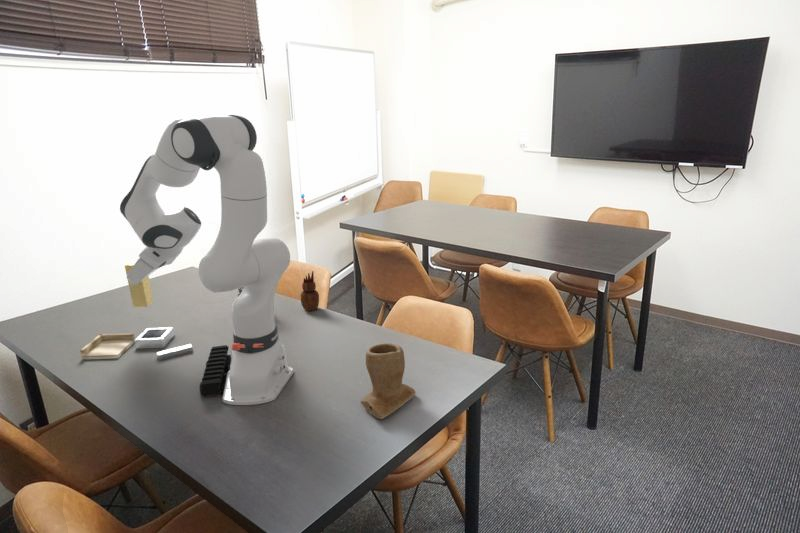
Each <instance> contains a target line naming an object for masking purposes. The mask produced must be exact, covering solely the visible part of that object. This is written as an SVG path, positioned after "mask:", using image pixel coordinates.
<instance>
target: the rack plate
mask: <svg viewBox="0 0 800 533" xmlns="http://www.w3.org/2000/svg"><path fill="white" fill-rule="evenodd" d="M135 339H136V338H135V333H134V332H124V333H123V332H122V333H100V334H99V333H98V335H97V336H96V337H94V338H93V339H92V340H91V341H89V343H87V344H86V345H85V346H83V347H82V348H81V349H80V355H81V359H82V360H109V359H119V358H120V357H121V356H122V355H123V354H124V353H126V352H127V351H128V349H129V348H131V347H132V346H133V345H135Z"/></svg>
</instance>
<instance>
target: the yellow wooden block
mask: <svg viewBox="0 0 800 533" xmlns="http://www.w3.org/2000/svg"><path fill="white" fill-rule="evenodd" d="M136 261H137V260H131V261H128V262H127V263H126V264H124V269H125V274H126V275H127V274H128V273H129V271H130V270H131V268H132V267H133V266H134V264H135V263H136ZM127 283H128V287H129V288H128V289H129V292H130V298H131V301H132V305H133V308H145V307H149V306H150V305H151V304H152V303H154V302H155V301H154V297H153V296H154V295H153V291H152V284H151V281H150V275H149V276H147V277H146V278H145V279H143V280H142V281H141V282H139V283H138V284H137V285H135V286H134V287H133V286H132V285H130V284H129V283H130V281H129V280H128V279H127Z"/></svg>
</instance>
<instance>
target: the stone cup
mask: <svg viewBox="0 0 800 533" xmlns="http://www.w3.org/2000/svg"><path fill="white" fill-rule="evenodd" d="M405 363H406V361H405V353H404V349H403V347H402V346H401V345H398V344H395V343H392V342H391V343H390V342H389V343H388V342H387V343H385V342H384V343H378V344H375V345H372V346H370V347H369V348H368V349H367V350H366V352H365V365H366V369H367V373H368V375H369V377H370V382H371V385H372V391H371V392H370V393H369V394H368V395H366V396H365V397H364V398H362V399H361V400H360V404H361V405H362V406H363V407H364V409H365V410H366V411H367V412H368V413H369V414H370V415H372V416H373V417H375V418H377V419H380V420H382V419H384V418H386V417H388V416H389V415H391V414H392V413H394V412H395V411H397V410H398V409H400V408H401V407H402V406H403V405H405V404H406V403H408V402H409V401H410V400H411V399H412V398H413V397H414V396H415V395H416V390H415V389H414V388H413V387H411V386H409V385H408V384H406V383H405V384H404V383H403V378H404V373H405V368H406V366H405V365H406V364H405Z"/></svg>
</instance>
